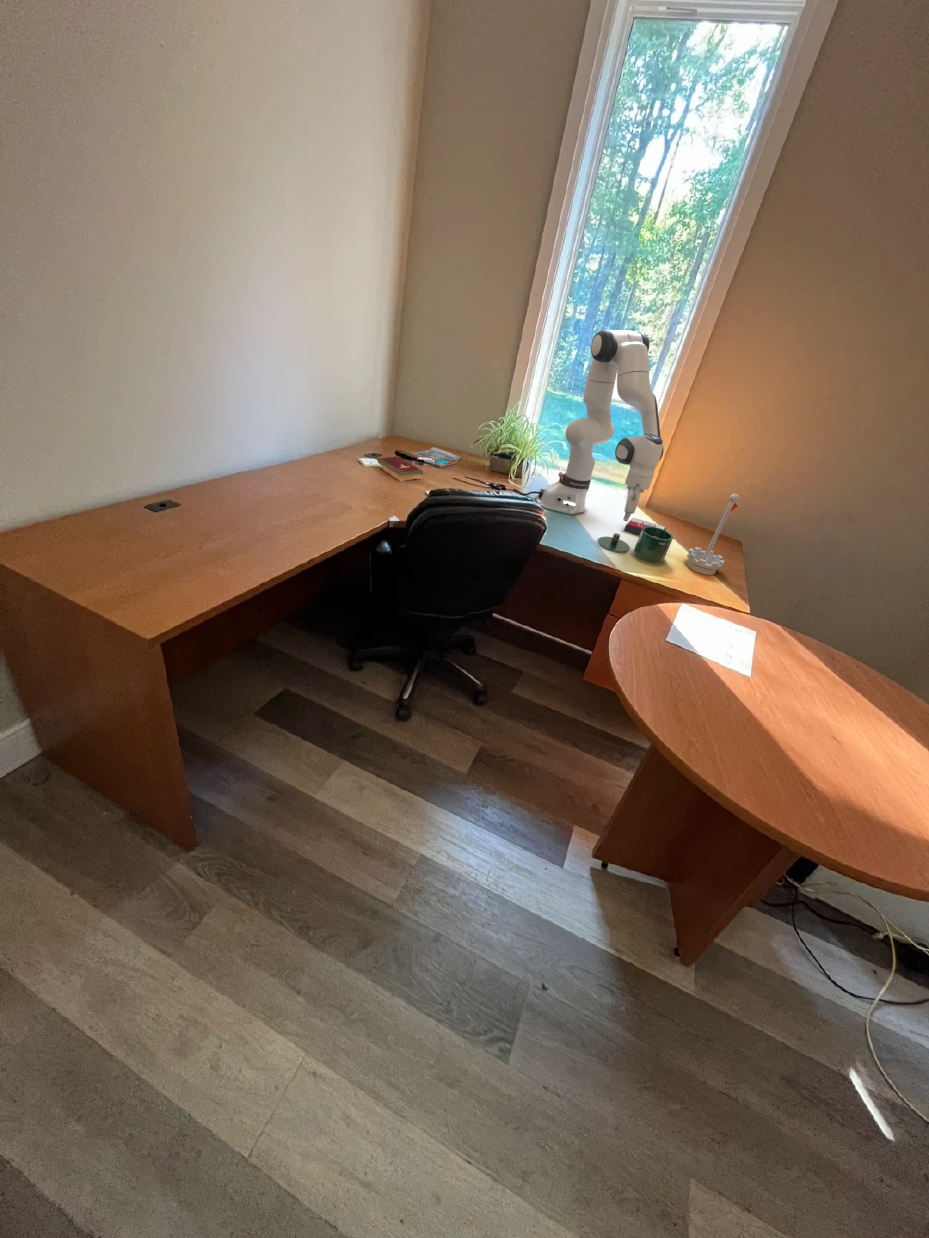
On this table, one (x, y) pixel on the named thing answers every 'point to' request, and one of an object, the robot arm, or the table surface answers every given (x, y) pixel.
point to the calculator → (639, 526)
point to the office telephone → (439, 456)
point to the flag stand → (710, 548)
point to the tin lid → (613, 543)
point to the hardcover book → (399, 466)
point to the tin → (652, 544)
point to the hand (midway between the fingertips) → (626, 516)
